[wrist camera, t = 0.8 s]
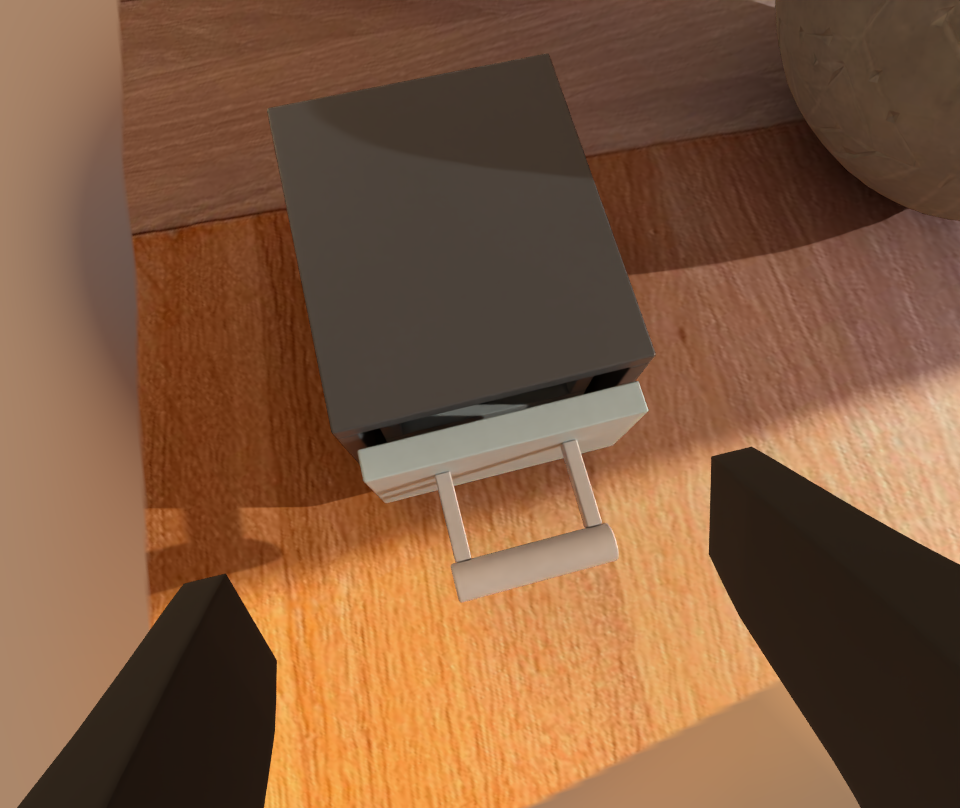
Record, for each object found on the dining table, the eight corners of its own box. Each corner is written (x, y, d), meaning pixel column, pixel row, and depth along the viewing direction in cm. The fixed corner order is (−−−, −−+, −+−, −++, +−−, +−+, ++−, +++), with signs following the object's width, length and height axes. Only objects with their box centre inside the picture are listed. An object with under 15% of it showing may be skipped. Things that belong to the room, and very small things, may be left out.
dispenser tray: (647, 550, 27) (694, 540, 21) (408, 614, 26) (392, 622, 20) (536, 207, 31) (551, 126, 26) (330, 252, 31) (299, 178, 25)
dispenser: (610, 412, 30) (657, 355, 22) (366, 473, 29) (331, 434, 21) (531, 169, 33) (548, 52, 26) (311, 216, 32) (265, 107, 25)
